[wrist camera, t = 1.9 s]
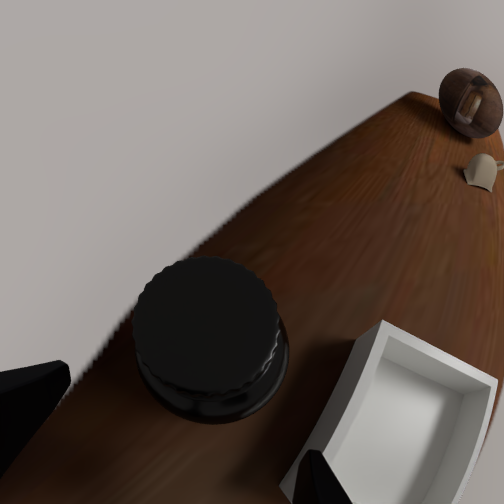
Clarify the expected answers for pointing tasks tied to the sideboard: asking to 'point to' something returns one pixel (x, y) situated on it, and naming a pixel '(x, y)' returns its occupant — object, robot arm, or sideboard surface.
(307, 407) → the sideboard surface
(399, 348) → the tray
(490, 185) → the beige rounded piece
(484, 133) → the dark glossy egg
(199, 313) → the supplement bottle
